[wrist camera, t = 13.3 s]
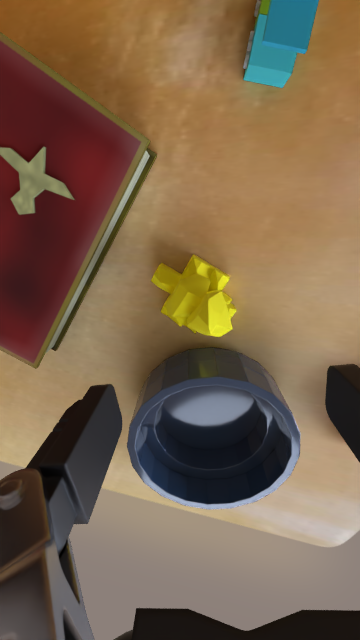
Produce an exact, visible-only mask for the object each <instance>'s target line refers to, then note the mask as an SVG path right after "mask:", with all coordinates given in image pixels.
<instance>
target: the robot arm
mask: <svg viewBox="0 0 360 640" xmlns="http://www.w3.org/2000/svg"><path fill="white" fill-rule="evenodd" d="M325 405H326V410H327V413H328V416H329V418H330V420H331V421H332V423H333V424H334V426H335V427H336V429H337V430H338V432H339V433H340V434H341V436H342V437H343V439H344V440H345V442H346V443H347V445H348V446H349V448H350V449H351V450H352V452H353V453H354V455H355V456H356V458H357V459H358V461H359V462H360V368H359V367H358V366H357V365H355V364H346V365H334V366H330V367H329V368H328V371H327V384H326V399H325ZM121 430H122V416H121V412H120V408H119V404H118V401H117V397H116V393H115V390H114V387H113V385H112V384H106V385H95V386H91V387H90V388H89V390H88V391H87V393H86V394H85V396H84V397H83V399H82V400H78V401H77V402H75V403H74V404H73V405H72V406H71V407H69V408H68V409H67V410H66V411H65V413H64V414H63V416H62V417H61V419H60V420H59V423H57V424H56V426H55V427H54V428H53V432H51V433H50V434H49V436H48V437H47V438H46V440H45V441H44V443H43V444H42V446H41V447H40V448H39V450H38V451H37V453H36V454H35V456H34V457H33V458H32V460H31V461H30V463H29V464H28V465H27V467H26V468H25V469H21V470H18V471H15V472H13V473H11V474H9V475H7V476H6V477H5V478H3V479H1V480H0V640H94V636H93V633H92V630H91V627H90V624H89V621H88V618H87V614H86V611H85V606H84V602H83V597H82V593H81V588H80V583H79V579H78V574H77V570H76V566H75V561H74V556H73V552H72V548H71V542H70V539H69V537H68V536H69V534H70V531H71V529H72V527H73V524H88V522H89V519H90V516H91V514H92V511H93V508H94V505H95V503H96V500H97V497H98V494H99V491H100V489H101V486H102V483H103V481H104V478H105V475H106V472H107V470H108V467H109V464H110V461H111V459H112V456H113V453H114V450H115V448H116V445H117V442H118V439H119V437H120V434H121ZM114 640H360V611H341V610H339V611H338V610H301V611H299V612H296V613H293V614H291V615H289V616H286V617H283V618H281V619H278V620H276V621H273V622H271V623H268V624H266V625H263V626H261V627H258V628H256V629H253V630H250V631H244V630H240V629H237V628H235V627H232V626H230V625H227V624H224V623H222V622H220V621H217V620H214V619H212V618H210V617H207V616H205V615H202V614H200V613H197V612H195V611H192V610H189V609H152V608H137V609H136V614H135V621H134V627H133V630H131V631H128V632H126V633H124V634H122V635H121V636H119V637H118V638H116V639H114Z"/></svg>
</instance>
